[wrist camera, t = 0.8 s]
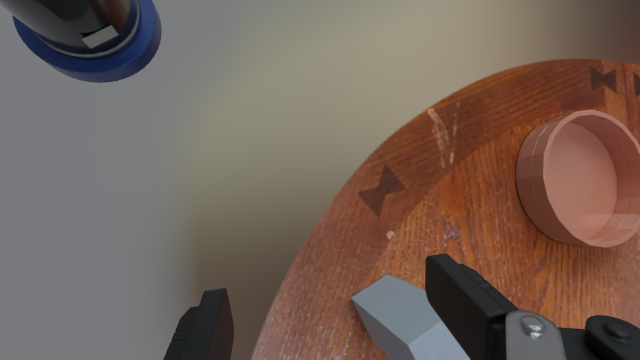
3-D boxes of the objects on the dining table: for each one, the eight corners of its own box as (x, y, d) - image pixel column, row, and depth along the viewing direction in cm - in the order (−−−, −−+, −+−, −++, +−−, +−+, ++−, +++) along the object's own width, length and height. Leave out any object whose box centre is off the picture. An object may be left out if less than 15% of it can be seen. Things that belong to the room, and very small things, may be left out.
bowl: (494, 150, 35) (520, 143, 32) (580, 100, 39) (612, 90, 36) (553, 268, 35) (585, 274, 32) (633, 207, 39) (669, 206, 36)
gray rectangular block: (350, 297, 30) (407, 345, 19) (387, 273, 31) (462, 306, 20) (371, 339, 30) (440, 409, 19) (408, 313, 31) (492, 366, 20)
